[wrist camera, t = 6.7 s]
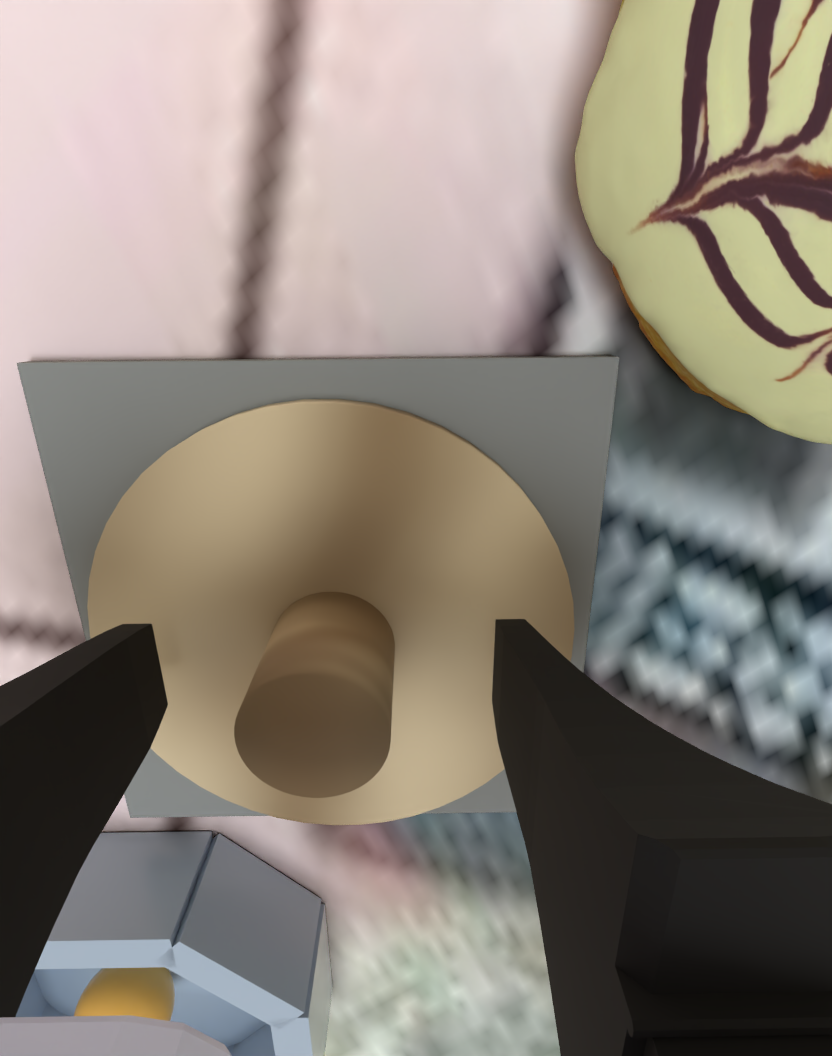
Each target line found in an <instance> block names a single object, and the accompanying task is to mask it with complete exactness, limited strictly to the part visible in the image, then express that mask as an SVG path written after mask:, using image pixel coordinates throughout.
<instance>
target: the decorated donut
mask: <svg viewBox="0 0 832 1056" xmlns="http://www.w3.org/2000/svg"><path fill="white" fill-rule="evenodd" d="M575 168H576V182H577V189H578V195H579V200H580V203H581V207H582V211H583V214H584V217H585V219H586V222H587V225H588V227H589V229H590V231H591V234H592V237H593V239H594V241H595V243H596V245H597V246H598V248H599V249H600V250H601V251H602V253H603V254H604V255H605V256H606V257H607V258H608V259H609V260H610V261H611V262H612V263H613V268H612V269H613V272H614V275H615V277H616V278H617V280H618V281H619V283H620V288H621V290H622V292H623V294H624V296H625V299H626V301H627V303H628V305H629V307H630V309H631V311H632V312H633V313H634V315H635V317H636V318H637V320H638V321H639V327H640V329H641V330H642V332H643V333H644V334H645V335H646V337H647V339H648V340H649V341H650V343H651V344H652V346H653V348H654V349H656V351H657V352H658V353H659V355H660V356H661V357H662V358H663V359H664V360H665V362H666V363H667V364H668V365H669V366H670V367H671V368H672V369H673V370H674V371H675V372H676V374H677V375H678V376H679V377H680V379H681V380H683V381H684V382H685V383H686V384H687V385H688V386H689V388H690V389H692V390H693V391H694V392H696V393H700V394H703V395H707V396H710V397H712V398H713V399H714V400H715V401H717V402H719V403H720V404H721V405H723V406H725V407H726V408H730V409H733V410H736V411H739V412H742V413H746V414H748V415H751V416H753V417H754V418H756V419H757V420H759V421H760V422H762V423H763V424H765V425H766V426H768V427H770V428H772V429H774V430H777V431H780V432H783V433H785V434H788V435H791V436H794V437H798V438H801V439H804V440H807V441H811V442H818V443H825V444H832V0H622V3H621V6H620V11H619V15H618V18H617V20H616V23H615V25H614V27H613V30H612V33H611V36H610V39H609V41H608V45H607V48H606V52H605V55H604V58H603V61H602V64H601V66H600V68H599V70H598V72H597V75H596V77H595V79H594V82H593V84H592V86H591V89H590V91H589V94H588V97H587V100H586V103H585V106H584V111H583V118H582V125H581V131H580V135H579V139H578V143H577V146H576V150H575Z"/></svg>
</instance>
